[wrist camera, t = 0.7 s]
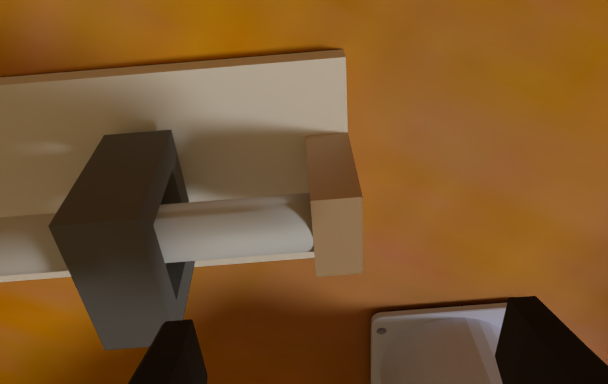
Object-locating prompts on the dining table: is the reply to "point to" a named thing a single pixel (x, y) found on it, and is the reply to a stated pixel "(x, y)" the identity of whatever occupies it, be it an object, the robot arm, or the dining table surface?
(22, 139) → the pipe rig
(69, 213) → the grey square collar
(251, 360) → the dining table surface
